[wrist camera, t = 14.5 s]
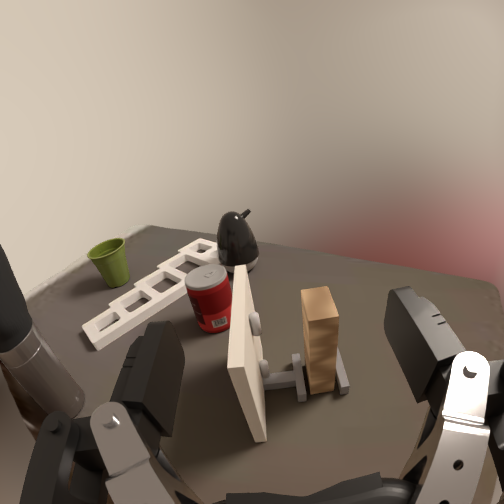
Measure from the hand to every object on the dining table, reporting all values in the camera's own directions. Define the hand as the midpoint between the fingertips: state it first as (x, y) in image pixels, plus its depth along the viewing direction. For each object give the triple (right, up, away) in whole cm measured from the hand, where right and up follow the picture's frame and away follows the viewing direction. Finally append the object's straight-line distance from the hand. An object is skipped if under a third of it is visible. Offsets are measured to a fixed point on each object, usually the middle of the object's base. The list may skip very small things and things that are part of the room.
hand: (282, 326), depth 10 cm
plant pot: (-40, -6, +67) cm, 78 cm away
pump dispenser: (-4, -2, +63) cm, 63 cm away
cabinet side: (+6, -17, +29) cm, 34 cm away
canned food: (-8, -11, +46) cm, 48 cm away
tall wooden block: (+9, -16, +30) cm, 35 cm away
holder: (-25, -7, +61) cm, 66 cm away
